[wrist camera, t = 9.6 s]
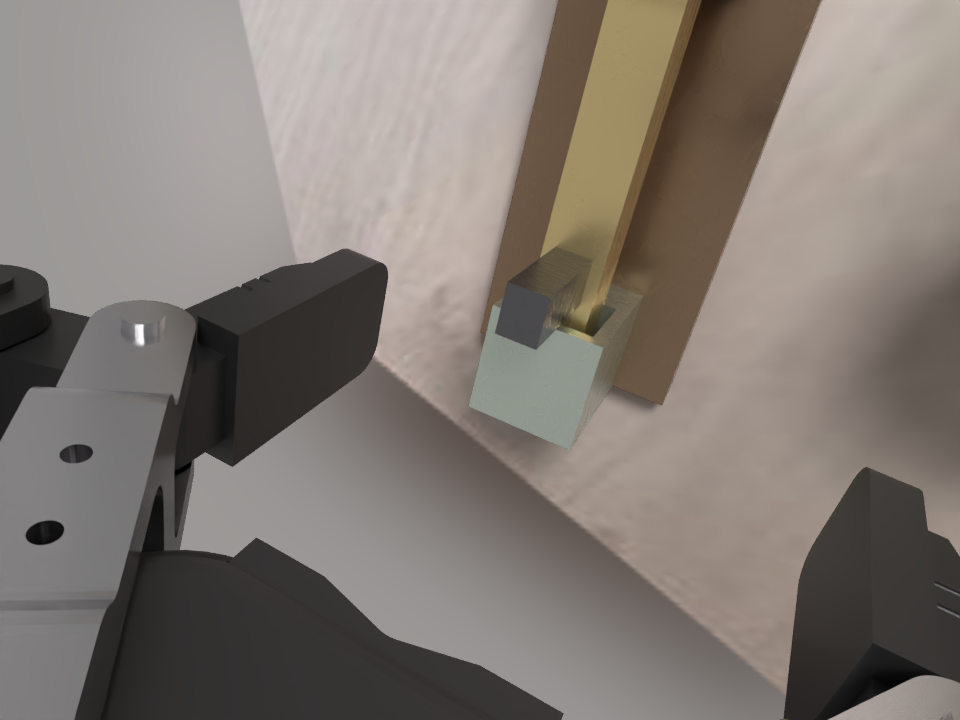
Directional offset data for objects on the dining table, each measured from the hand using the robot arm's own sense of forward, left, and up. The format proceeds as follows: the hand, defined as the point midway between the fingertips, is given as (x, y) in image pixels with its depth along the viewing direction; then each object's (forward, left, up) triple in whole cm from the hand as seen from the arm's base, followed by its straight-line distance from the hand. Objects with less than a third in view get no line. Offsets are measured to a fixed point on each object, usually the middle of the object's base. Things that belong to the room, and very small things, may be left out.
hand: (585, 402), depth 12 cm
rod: (+1, -5, -19) cm, 20 cm away
